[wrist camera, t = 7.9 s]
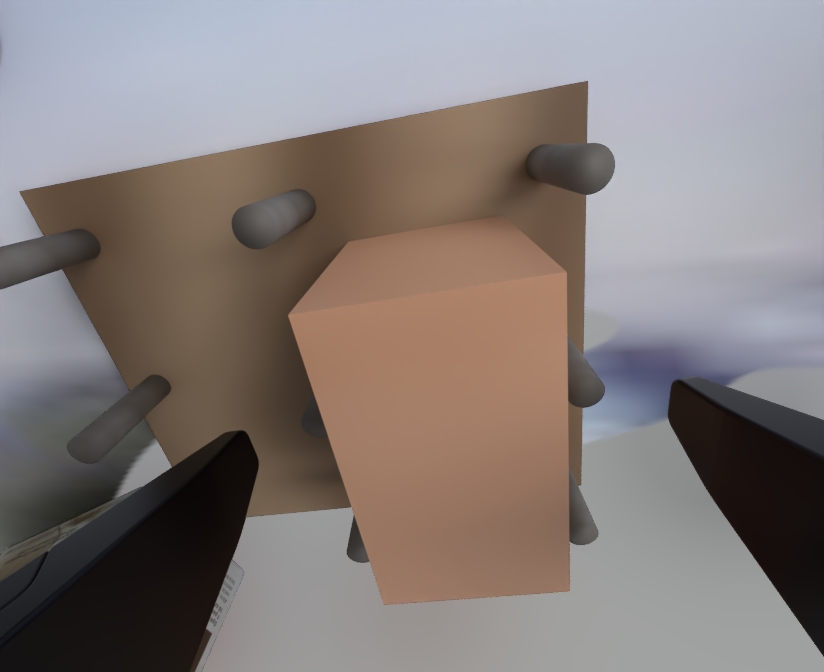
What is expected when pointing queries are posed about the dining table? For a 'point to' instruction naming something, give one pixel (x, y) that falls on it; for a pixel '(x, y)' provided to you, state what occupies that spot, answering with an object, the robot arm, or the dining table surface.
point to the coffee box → (46, 540)
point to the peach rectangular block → (447, 407)
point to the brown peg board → (299, 270)
